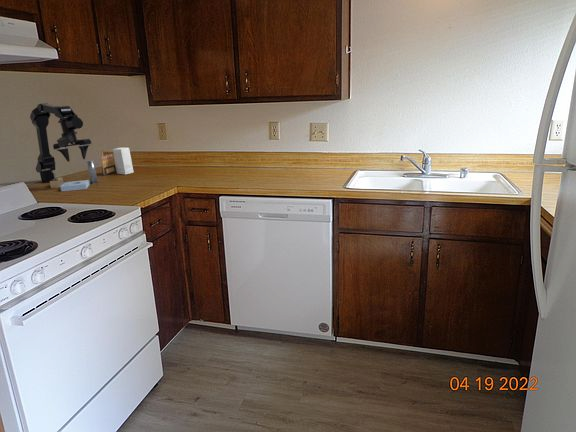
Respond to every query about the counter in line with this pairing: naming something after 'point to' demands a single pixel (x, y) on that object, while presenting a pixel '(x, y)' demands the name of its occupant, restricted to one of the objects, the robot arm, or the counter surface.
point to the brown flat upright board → (108, 165)
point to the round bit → (92, 171)
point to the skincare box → (123, 160)
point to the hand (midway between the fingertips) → (76, 160)
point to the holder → (75, 185)
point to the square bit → (56, 182)
